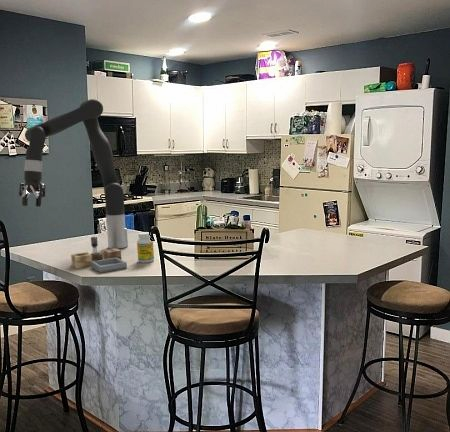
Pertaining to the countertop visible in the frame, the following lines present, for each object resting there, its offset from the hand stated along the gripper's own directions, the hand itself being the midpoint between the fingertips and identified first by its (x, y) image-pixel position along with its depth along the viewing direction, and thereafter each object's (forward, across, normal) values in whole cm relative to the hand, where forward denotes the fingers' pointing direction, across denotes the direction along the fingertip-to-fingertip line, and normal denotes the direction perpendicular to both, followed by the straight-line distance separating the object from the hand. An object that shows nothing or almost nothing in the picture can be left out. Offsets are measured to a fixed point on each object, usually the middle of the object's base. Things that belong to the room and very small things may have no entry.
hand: (31, 206), depth 229 cm
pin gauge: (+24, -25, -16) cm, 38 cm away
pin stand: (+23, -25, -16) cm, 38 cm away
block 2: (+23, -33, -19) cm, 45 cm away
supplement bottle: (+22, -48, -24) cm, 58 cm away
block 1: (+25, -26, -7) cm, 37 cm away
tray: (+25, -40, -8) cm, 48 cm away
